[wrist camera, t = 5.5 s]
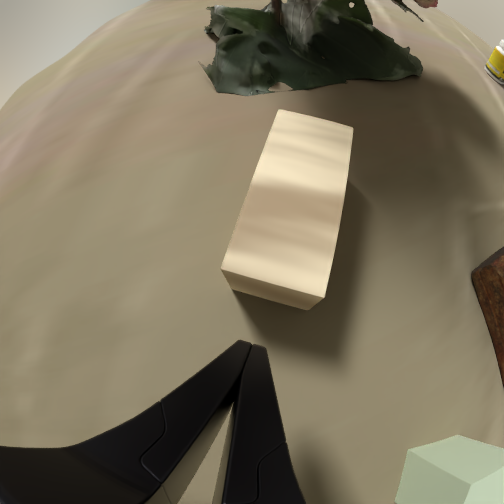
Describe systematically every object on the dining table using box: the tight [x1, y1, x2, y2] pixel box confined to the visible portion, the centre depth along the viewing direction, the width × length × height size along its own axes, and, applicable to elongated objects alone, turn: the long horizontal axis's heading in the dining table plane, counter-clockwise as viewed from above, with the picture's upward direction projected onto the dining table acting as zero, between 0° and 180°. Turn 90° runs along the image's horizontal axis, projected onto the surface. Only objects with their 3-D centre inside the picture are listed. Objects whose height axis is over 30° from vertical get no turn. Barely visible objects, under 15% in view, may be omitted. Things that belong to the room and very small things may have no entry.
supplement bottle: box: [485, 39, 504, 84], centre depth 22 cm, size 5×5×8 cm
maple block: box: [221, 109, 353, 310], centre depth 15 cm, size 4×4×10 cm
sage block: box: [395, 435, 504, 504], centre depth 8 cm, size 4×4×7 cm
